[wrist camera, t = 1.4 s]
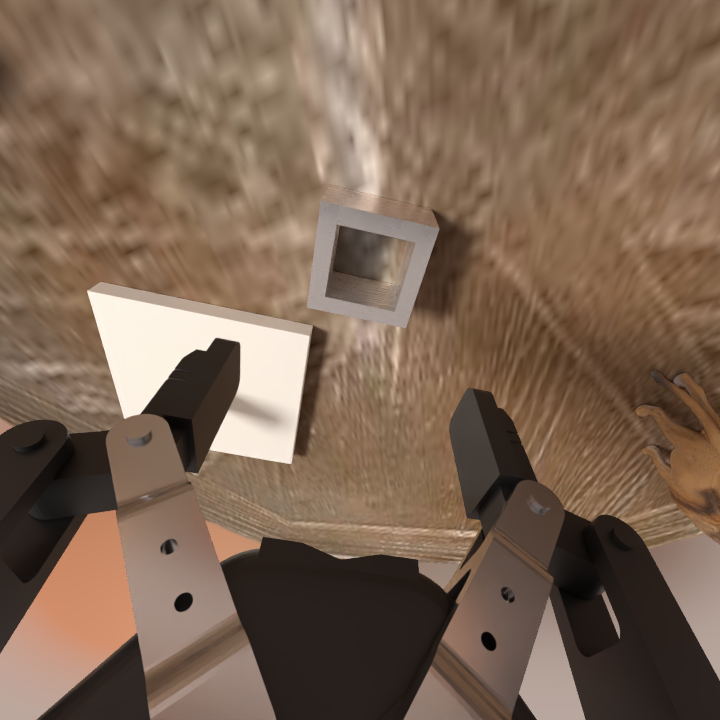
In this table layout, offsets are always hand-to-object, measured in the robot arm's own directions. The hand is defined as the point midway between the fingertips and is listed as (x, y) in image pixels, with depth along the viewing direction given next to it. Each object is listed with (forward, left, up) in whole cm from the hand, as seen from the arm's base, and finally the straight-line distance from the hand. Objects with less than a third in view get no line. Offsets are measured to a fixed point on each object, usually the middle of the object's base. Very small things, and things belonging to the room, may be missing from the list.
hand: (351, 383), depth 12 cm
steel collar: (0, 0, -14) cm, 14 cm away
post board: (+11, +15, -14) cm, 23 cm away
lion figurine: (-30, +10, -14) cm, 34 cm away
